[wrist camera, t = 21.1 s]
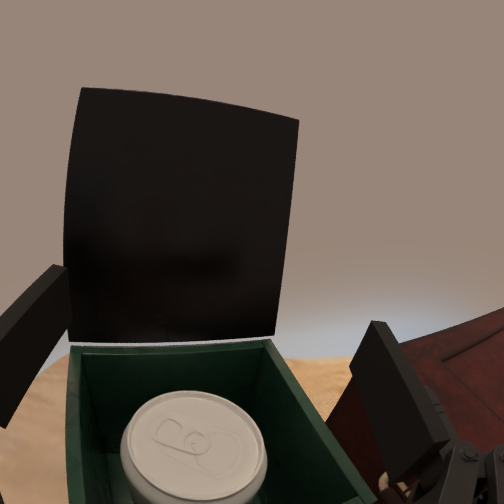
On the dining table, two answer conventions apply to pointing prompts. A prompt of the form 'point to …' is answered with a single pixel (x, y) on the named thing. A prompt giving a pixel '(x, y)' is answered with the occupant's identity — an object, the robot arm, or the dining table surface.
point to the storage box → (447, 391)
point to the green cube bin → (210, 381)
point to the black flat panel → (175, 217)
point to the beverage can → (192, 451)
